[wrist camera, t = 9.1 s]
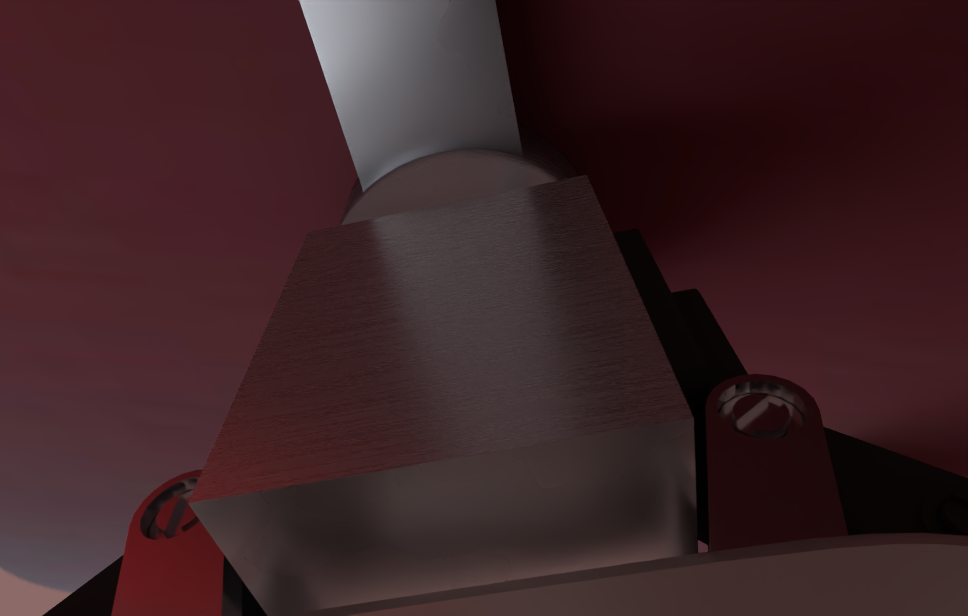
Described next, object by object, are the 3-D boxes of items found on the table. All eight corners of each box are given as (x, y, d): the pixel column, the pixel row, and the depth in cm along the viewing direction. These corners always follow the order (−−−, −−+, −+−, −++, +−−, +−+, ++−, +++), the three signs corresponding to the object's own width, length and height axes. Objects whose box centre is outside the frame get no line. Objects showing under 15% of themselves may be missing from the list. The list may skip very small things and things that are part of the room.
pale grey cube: (308, 232, 11) (188, 503, 6) (586, 174, 11) (693, 417, 6) (388, 430, 14) (347, 730, 9) (613, 390, 14) (702, 682, 9)
